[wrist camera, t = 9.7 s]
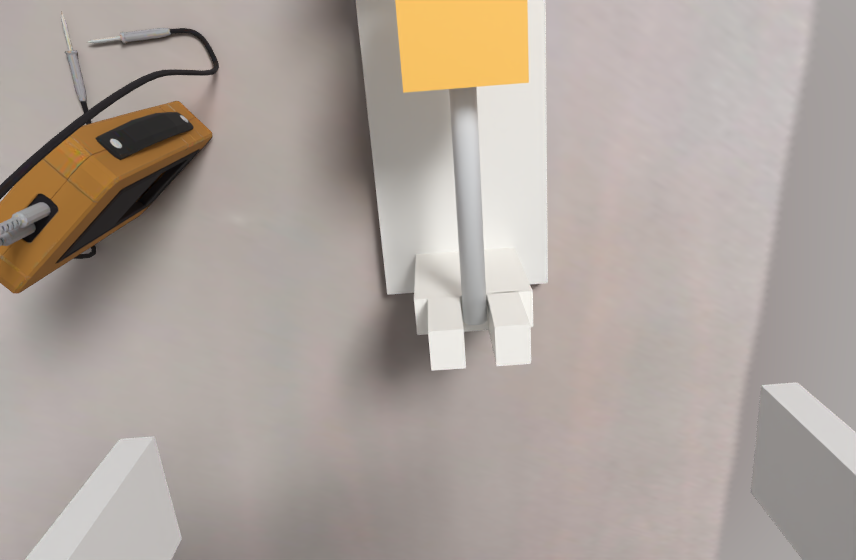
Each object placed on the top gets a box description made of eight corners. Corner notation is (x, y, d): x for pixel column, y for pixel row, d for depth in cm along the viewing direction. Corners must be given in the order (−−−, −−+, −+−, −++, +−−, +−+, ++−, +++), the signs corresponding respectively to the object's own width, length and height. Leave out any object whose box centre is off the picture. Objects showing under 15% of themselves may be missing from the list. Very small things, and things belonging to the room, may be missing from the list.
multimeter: (115, -54, 34) (-270, -162, 15) (259, 88, 36) (83, 148, 18) (-35, 139, 37) (-497, 246, 19) (105, 255, 40) (-175, 451, 21)
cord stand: (544, 276, 40) (589, 369, 29) (388, 287, 41) (374, 384, 29) (539, -171, 32) (602, -281, 21) (341, -153, 32) (296, -253, 21)
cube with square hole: (512, 74, 30) (528, 82, 25) (406, 83, 30) (403, 92, 25) (509, -44, 28) (526, -60, 23) (396, -35, 28) (390, -48, 23)
